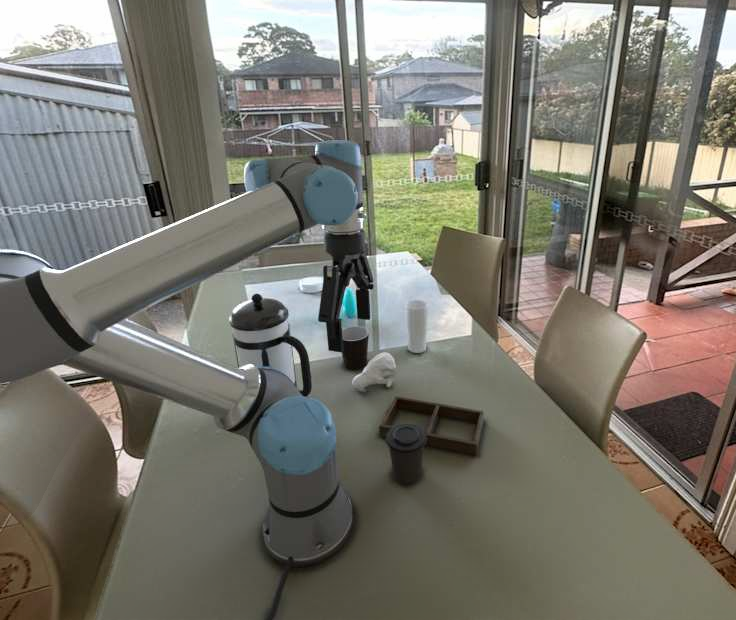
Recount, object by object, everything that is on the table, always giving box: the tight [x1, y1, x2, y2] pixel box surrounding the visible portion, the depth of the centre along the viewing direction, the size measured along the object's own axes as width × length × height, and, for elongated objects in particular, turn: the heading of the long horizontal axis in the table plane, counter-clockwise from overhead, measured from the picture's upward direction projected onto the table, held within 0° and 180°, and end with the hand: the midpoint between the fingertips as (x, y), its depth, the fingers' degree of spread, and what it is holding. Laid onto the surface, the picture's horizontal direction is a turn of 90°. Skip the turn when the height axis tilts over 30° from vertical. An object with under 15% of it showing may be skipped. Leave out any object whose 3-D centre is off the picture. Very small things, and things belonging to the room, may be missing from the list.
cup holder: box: [379, 395, 485, 457], centre depth 100 cm, size 11×22×3 cm, turn 74°
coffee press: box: [228, 293, 313, 398], centre depth 103 cm, size 17×16×30 cm
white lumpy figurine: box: [351, 351, 397, 393], centre depth 115 cm, size 6×8×12 cm
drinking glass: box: [404, 299, 429, 354], centre depth 131 cm, size 7×7×15 cm
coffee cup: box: [384, 422, 427, 485], centre depth 87 cm, size 8×8×10 cm
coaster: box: [298, 276, 323, 294], centre depth 178 cm, size 10×10×4 cm
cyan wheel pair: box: [341, 288, 357, 318], centre depth 152 cm, size 10×10×10 cm
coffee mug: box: [341, 325, 370, 371], centre depth 126 cm, size 12×9×10 cm
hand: (351, 333), depth 87 cm, fingers open, 13 cm apart
